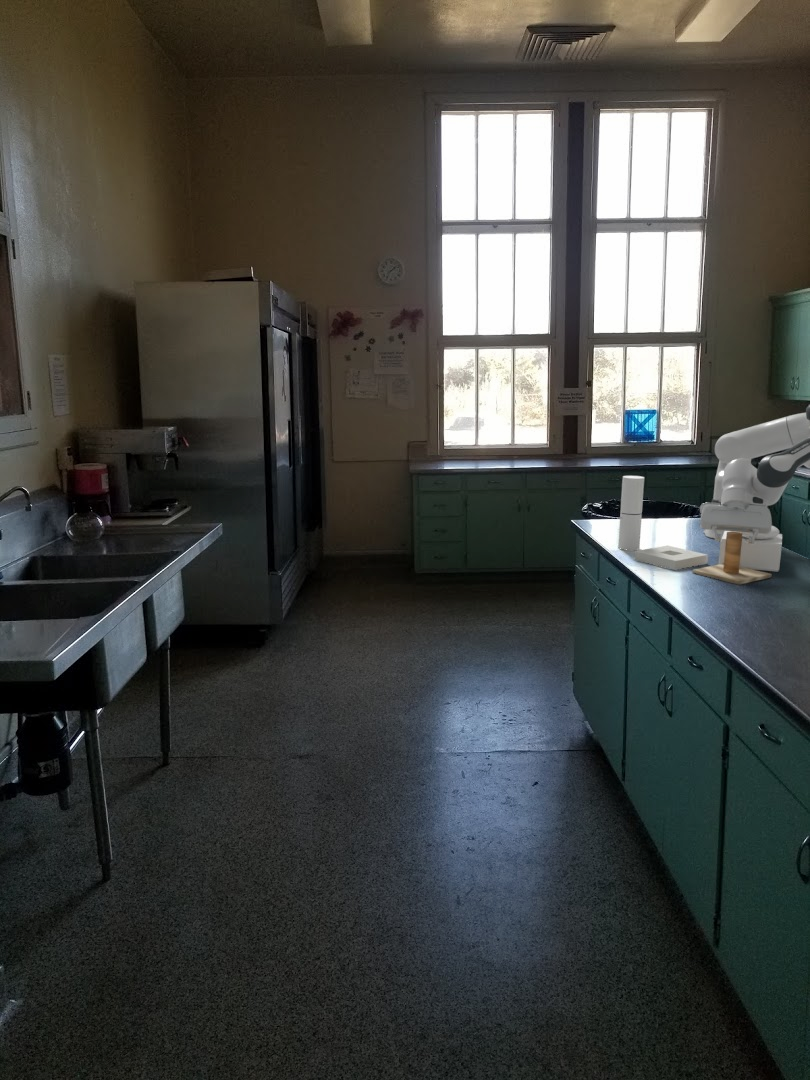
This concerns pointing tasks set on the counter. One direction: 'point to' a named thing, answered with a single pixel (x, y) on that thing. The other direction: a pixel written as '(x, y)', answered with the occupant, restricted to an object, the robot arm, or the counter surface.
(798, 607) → the counter surface
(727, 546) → the plug
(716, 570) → the board
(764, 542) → the butter dish
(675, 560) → the socket block
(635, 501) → the cylindrical container
